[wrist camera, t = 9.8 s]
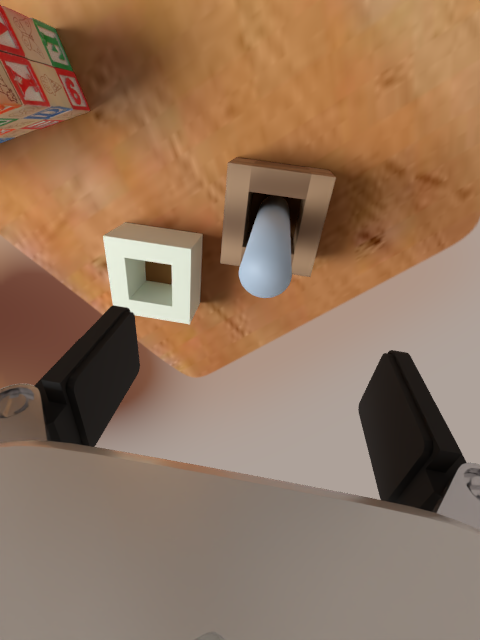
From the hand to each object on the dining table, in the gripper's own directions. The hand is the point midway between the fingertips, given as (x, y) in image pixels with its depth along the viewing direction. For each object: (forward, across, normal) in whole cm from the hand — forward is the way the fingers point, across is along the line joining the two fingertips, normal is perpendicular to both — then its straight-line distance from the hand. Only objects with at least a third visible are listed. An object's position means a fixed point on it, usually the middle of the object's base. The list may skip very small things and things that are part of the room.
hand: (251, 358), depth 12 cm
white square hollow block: (+24, +12, +8) cm, 28 cm away
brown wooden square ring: (+24, 0, 0) cm, 24 cm away
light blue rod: (+24, 0, 0) cm, 24 cm away
